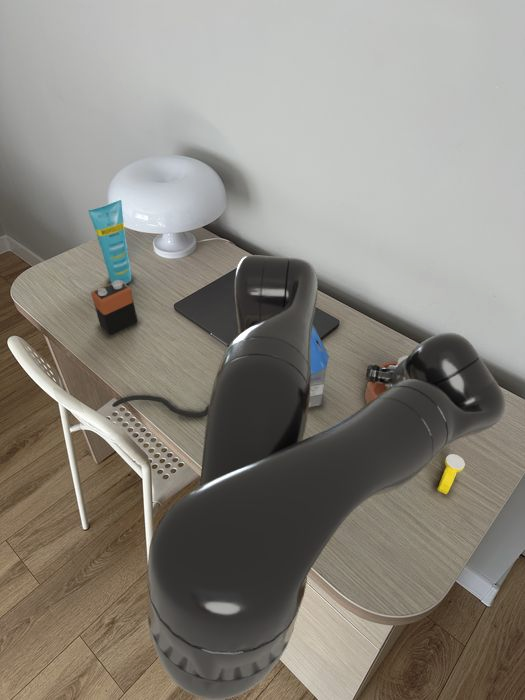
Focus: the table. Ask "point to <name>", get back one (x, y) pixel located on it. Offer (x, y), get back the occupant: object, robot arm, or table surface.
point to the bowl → (376, 386)
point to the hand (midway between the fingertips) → (407, 379)
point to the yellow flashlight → (450, 472)
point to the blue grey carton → (317, 369)
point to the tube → (112, 240)
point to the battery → (114, 307)
